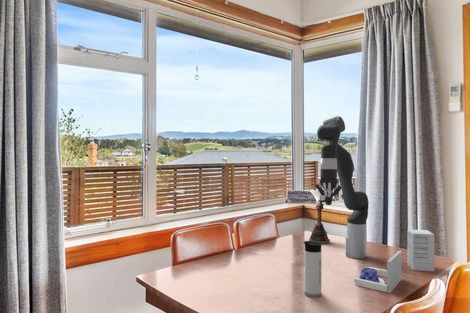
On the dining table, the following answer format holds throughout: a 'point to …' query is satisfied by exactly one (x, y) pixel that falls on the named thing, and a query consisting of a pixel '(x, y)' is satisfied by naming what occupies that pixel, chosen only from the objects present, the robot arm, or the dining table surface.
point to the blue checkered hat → (370, 275)
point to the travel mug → (312, 268)
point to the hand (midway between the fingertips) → (328, 204)
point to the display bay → (386, 275)
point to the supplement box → (421, 250)
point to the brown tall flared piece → (319, 220)
